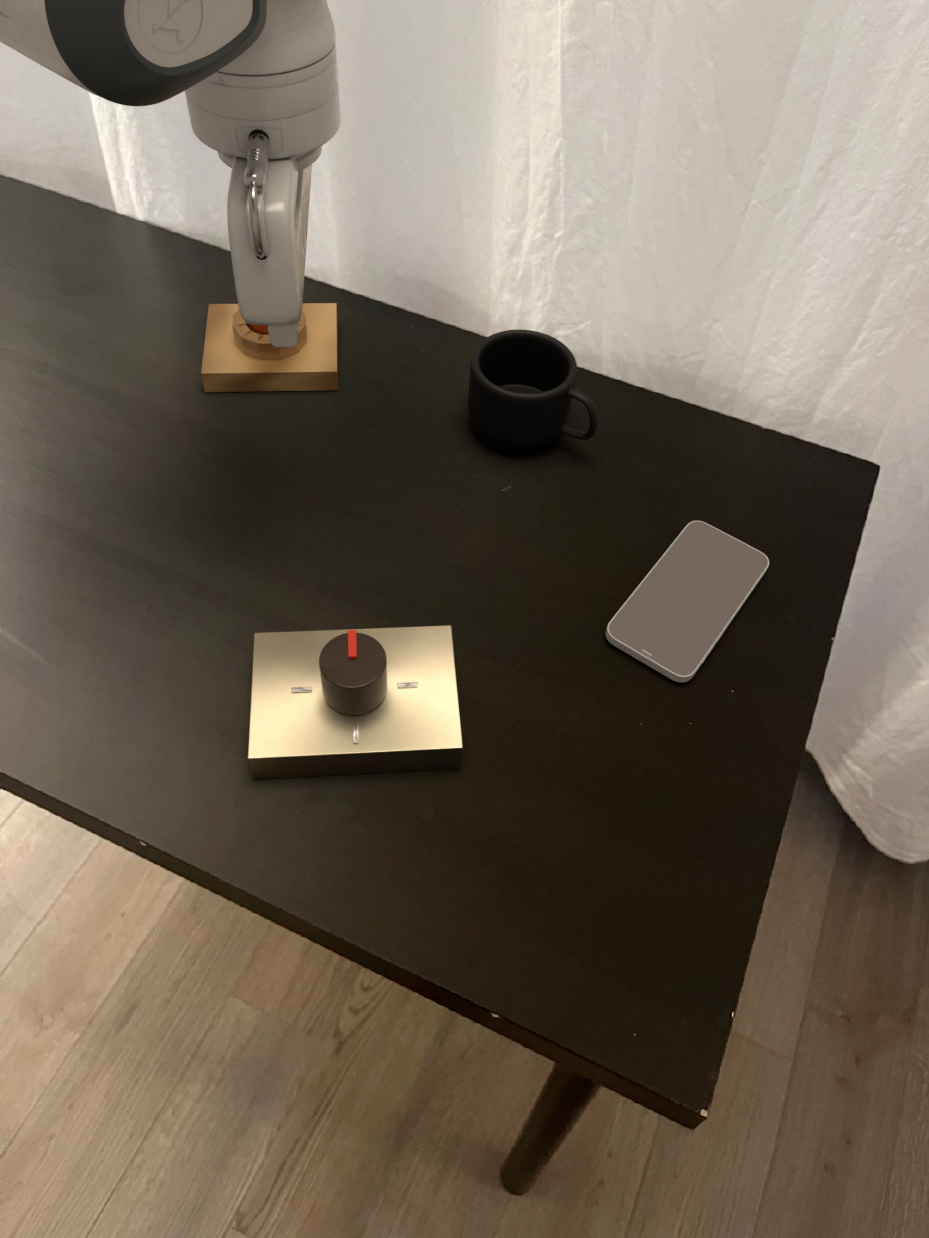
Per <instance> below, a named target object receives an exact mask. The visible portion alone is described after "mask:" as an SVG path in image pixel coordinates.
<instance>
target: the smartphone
mask: <svg viewBox="0 0 929 1238" xmlns="http://www.w3.org/2000/svg"><path fill="white" fill-rule="evenodd" d="M769 565H770V560H769V557H768V556H767V554H765V553H764V552H762V551H760V550H759V549H757V548H756V547H753V546H751V545H749V544H747V543H746V542H744V541H742V540H740V539H738V538H736V537H734V536H732V535H730V534H729V533H726V532H724V531H723V530H721V529H719V528H717V527H715V526H713V525H711V524H709V523H707V522H705V521H702V520H691V521H690V522H688V523H687V524H686V526H684V528H683V529H682V530H681V531H680V533H678V535H677V536H676V537H675V539H674V540H673V541H672V543H671V544H670V545H669V546H668V547H667V549H666V551H664V553H662V556H661V557H660V558H659V559H658V560H657V562H656V563H655V564H654V565H653V567H651V569H650V571H648V573H647V574H646V575H645V576H644V578H643V579H642V580H641V582H640V583H639V584H638V585H637V586H636V588H635V589H634V590H633V592H632V593H631V594H630V595H629V597H628V598H627V599H626V601H624V602H623V604H622V605H621V606H620V608H619V609H618V610H617V612H616V613H615V614H614V615H613V617H612V618H611V620H610V621H609V622H608V624H607V626H606V630H605V639H606V640H607V641H608V643H609V644H611V645H612V646H614V647H616V648H617V649H619V650H621V651H622V652H624V653H625V654H627V655H629V656H630V657H632V658H634V659H636V660H638V661H639V662H641V663H642V664H644V665H646V666H647V667H648V668H649V667H650V668H651V669H652V670H654V671H656V672H658V673H659V674H661V675H662V676H665V677H667V678H668V679H670V680H671V681H673V682H677V683H687V682H689V681H690V680H692V679H693V678H694V676H695V675H696V673H697V672H698V670H699V669H700V668H701V666H702V665H703V663H705V661H706V659H707V657H708V656H709V655H710V653H711V652H712V650H713V649H714V648H715V646H716V644H717V643H718V642H719V640H720V639H721V637H723V635H724V633H725V632H726V630H727V629H728V627H729V626H730V625H731V623H732V621H734V618H735V617H736V616H737V614H738V613H739V612H740V610H741V609H742V607H743V605H744V604H745V603H746V601H748V598H749V597H750V595H751V594H752V592H753V591H754V590H755V588H757V585H758V584H759V583H760V581H761V580H762V579H763V577H764V576H765V574H766V572H767V570H768V568H769Z"/></svg>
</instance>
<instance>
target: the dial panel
mask: <svg viewBox="0 0 929 1238" xmlns="http://www.w3.org/2000/svg"><path fill="white" fill-rule="evenodd" d="M348 630H356V633H363V634H366V635H369V636H371V637H373V638H374V639H376V640H377V641H378V642H379V643H380V644H381V645H382V647H383V648H384V650H385V653H386V658H387V693H386V696H385V698H384V700H383V701H382V702H381V704H380V705H379V706H378V707H376V708H375V709H374V710H372V711H370V712H368V713H365V714H361V715H347V714H343V713H340V712H338V711H336V710H334V709H333V708H332V707H331V706H330V705H329V704H328V703H327V702H326V700H325V698H324V696H323V691H322V683H321V675H320V667H319V657H320V653H321V651H322V649H323V648H324V646H325V645H326V644H327V643H328V642H329V641H330V640H331V639H333V638H335V637H336V636H339V635H341V634H345V633H348ZM252 655H253V656H252V668H251V686H250V688H251V689H250V705H249V707H250V709H249V725H248V726H249V727H248V729H249V730H248V745H247V761H248V765H249V769H250V773H251V776H252V779H253V780H268V779H269V780H270V779H289V778H307V777H309V778H310V777H325V776H344V775H346V776H347V775H363V774H364V775H365V774H381V773H382V774H383V773H400V772H401V773H402V772H418V771H419V772H420V771H421V772H422V771H436V770H438V771H440V770H457V769H458V770H459V769H462V761H463V751H464V744H463V742H464V741H463V733H462V723H461V712H460V702H459V701H460V700H459V692H458V691H459V690H458V681H457V670H456V660H455V649H454V639H453V629H452V625H450V624H449V625H447V624H445V625H426V626H425V625H422V626H399V627H398V626H397V627H371V628H346V629H320V630H293V631H271V632H270V631H269V632H268V631H267V632H254V634H253V650H252Z"/></svg>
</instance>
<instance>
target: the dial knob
mask: <svg viewBox="0 0 929 1238" xmlns="http://www.w3.org/2000/svg"><path fill="white" fill-rule="evenodd" d="M319 667H320V675H321V683H322V691H323V696H324V698H325V700H326V702H327V703H328V704H329V705H330V706H331V707H332V708H333V709H334V710H336V711H338V712H340V713H343V714H347V715H361V714H365V713H368V712H370V711H372V710H374V709H375V708H376V707H378V706H379V705H380V704H381V702H382V701H383V700H384V698H385V696H386V693H387V658H386V653H385V650H384V648H383V647H382V645H381V644H380V643H379V642H378V641H377V640H376V639H374V638H373V637H371V636H369V635H366V634H363V633H356V630H348V633H345V634H341V635H339V636H336V637H335V638H333V639H331V640H330V641H329V642H328V643H327V644H326V645H325V646H324V648H323V649H322V651H321V653H320V657H319Z"/></svg>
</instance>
